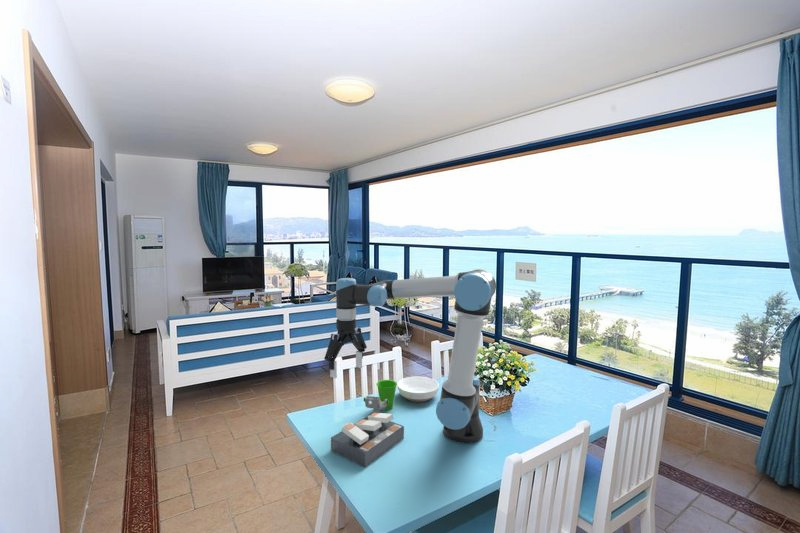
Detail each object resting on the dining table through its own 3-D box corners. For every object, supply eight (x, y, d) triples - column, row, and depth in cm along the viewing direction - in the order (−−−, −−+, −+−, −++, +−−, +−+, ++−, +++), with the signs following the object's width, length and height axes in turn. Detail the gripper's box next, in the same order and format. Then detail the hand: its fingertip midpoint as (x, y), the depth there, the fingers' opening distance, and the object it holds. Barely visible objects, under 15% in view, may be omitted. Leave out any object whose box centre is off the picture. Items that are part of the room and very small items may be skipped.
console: (403, 438, 146) (403, 423, 146) (365, 467, 129) (365, 449, 128) (371, 425, 156) (371, 411, 155) (330, 451, 138) (330, 434, 137)
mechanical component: (387, 425, 156) (387, 401, 155) (363, 422, 158) (362, 398, 158) (389, 421, 159) (389, 397, 158) (365, 418, 161) (365, 395, 160)
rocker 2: (381, 426, 140) (380, 420, 140) (374, 430, 137) (373, 425, 137) (363, 424, 146) (362, 419, 146) (356, 428, 142) (355, 423, 142)
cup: (373, 410, 169) (372, 385, 168) (381, 401, 177) (381, 378, 176) (392, 414, 166) (392, 389, 165) (400, 405, 174) (400, 381, 173)
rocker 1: (368, 439, 135) (369, 434, 135) (360, 444, 132) (361, 439, 131) (349, 426, 140) (350, 421, 140) (341, 431, 137) (342, 426, 136)
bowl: (393, 404, 175) (393, 391, 174) (400, 386, 194) (401, 375, 194) (437, 407, 172) (437, 394, 171) (440, 389, 191) (440, 377, 190)
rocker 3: (393, 418, 146) (392, 413, 146) (386, 423, 143) (385, 417, 143) (375, 417, 151) (374, 412, 151) (368, 421, 148) (367, 416, 148)
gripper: (361, 311, 161) (361, 361, 163) (314, 323, 142) (315, 379, 144) (375, 314, 157) (375, 365, 159) (328, 326, 137) (328, 384, 139)
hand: (346, 372), depth 151 cm, fingers open, 13 cm apart
